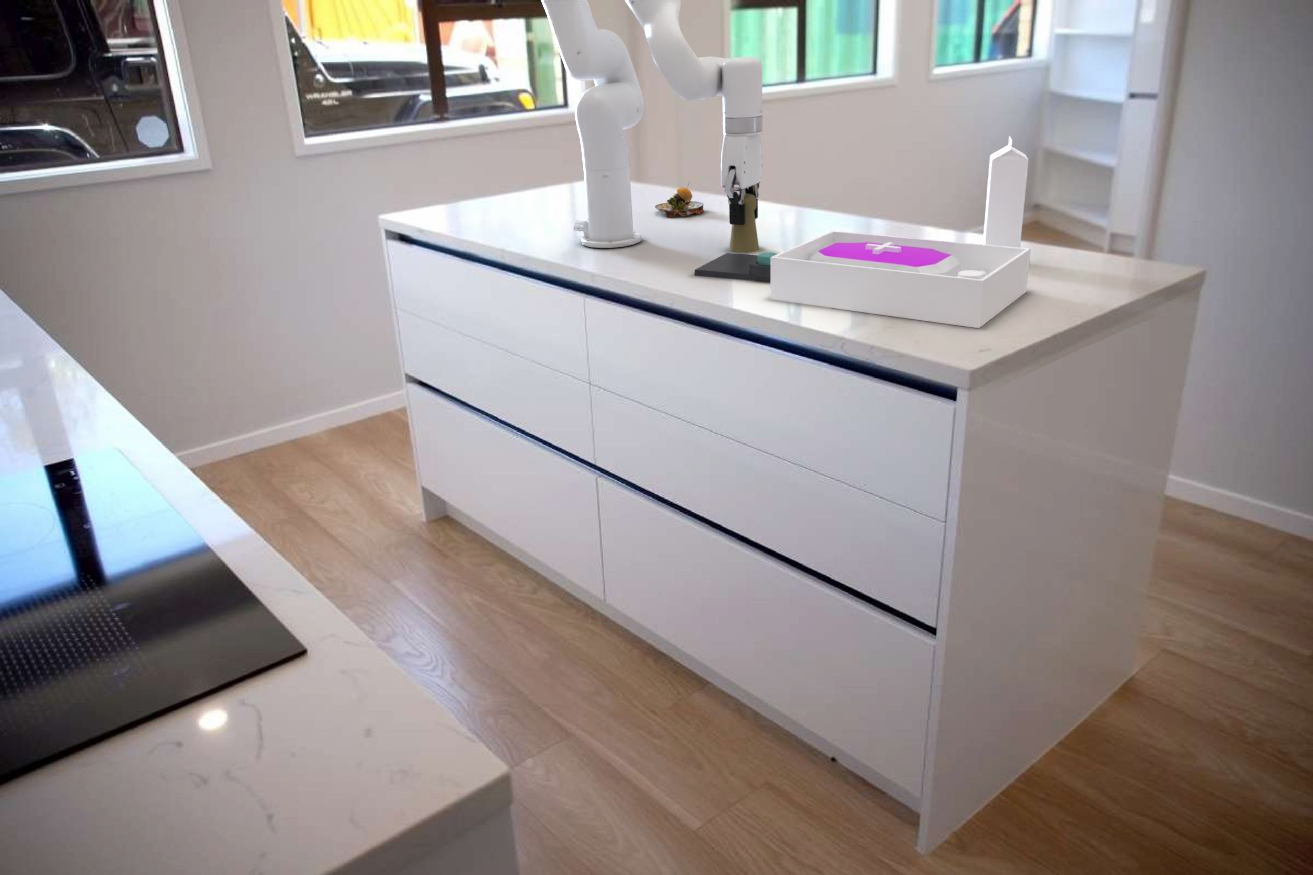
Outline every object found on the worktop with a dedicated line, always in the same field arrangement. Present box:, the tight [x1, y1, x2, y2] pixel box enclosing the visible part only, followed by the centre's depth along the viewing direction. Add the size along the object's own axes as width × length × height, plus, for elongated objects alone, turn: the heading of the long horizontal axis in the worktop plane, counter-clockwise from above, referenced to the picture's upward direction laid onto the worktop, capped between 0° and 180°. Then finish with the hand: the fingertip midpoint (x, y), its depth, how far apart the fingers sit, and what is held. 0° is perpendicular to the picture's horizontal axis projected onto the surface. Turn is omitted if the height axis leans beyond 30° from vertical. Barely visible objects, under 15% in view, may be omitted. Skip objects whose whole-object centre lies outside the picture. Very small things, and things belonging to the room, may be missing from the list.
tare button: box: [757, 251, 778, 265], centre depth 177 cm, size 4×4×2 cm
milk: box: [982, 135, 1030, 248], centre depth 175 cm, size 6×6×22 cm
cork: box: [728, 193, 760, 254], centre depth 198 cm, size 6×6×11 cm
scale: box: [693, 252, 771, 283], centre depth 183 cm, size 17×15×3 cm
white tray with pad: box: [770, 230, 1032, 329], centre depth 162 cm, size 22×35×7 cm, turn 54°
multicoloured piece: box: [654, 181, 705, 218], centre depth 237 cm, size 12×12×8 cm
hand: (743, 220), depth 197 cm, fingers closed on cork, 5 cm apart
